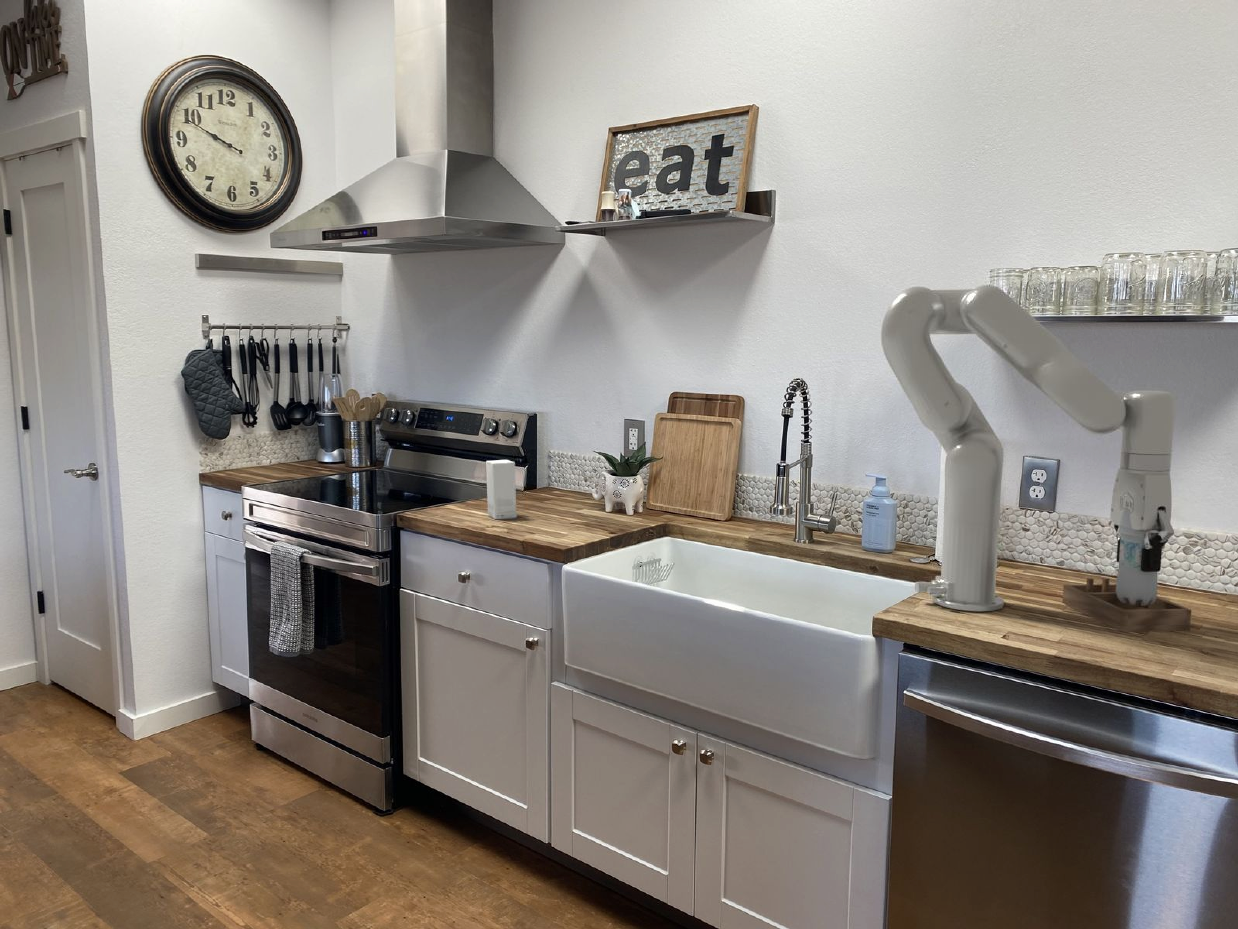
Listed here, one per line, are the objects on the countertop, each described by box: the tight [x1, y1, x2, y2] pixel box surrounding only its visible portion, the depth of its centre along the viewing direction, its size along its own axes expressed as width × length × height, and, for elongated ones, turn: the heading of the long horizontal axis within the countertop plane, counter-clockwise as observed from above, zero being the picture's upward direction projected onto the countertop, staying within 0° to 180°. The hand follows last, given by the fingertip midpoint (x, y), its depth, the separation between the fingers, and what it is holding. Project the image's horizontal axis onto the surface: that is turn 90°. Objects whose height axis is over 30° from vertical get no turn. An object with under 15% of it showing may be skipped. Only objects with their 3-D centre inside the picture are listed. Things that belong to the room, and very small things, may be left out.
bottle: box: [1115, 508, 1159, 606], centre depth 162 cm, size 7×7×20 cm
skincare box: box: [485, 459, 518, 520], centre depth 259 cm, size 8×7×16 cm
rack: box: [1062, 577, 1192, 633], centre depth 166 cm, size 12×18×5 cm, turn 5°
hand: (1137, 565), depth 162 cm, fingers closed on bottle, 5 cm apart
